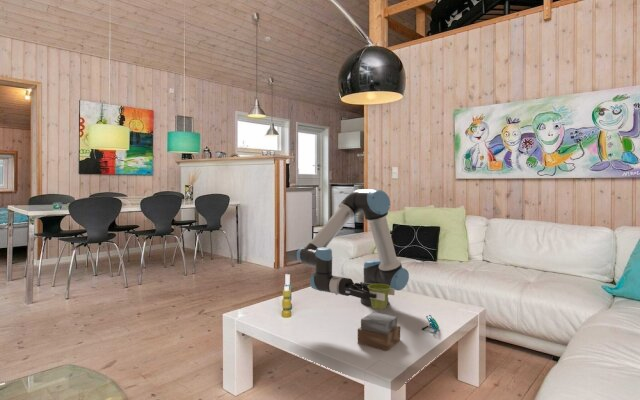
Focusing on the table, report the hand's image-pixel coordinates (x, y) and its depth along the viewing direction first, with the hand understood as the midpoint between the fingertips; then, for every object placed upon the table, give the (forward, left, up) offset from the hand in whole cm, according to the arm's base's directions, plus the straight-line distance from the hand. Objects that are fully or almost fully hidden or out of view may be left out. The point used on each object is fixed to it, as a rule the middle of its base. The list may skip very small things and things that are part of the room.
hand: (389, 294), depth 161 cm
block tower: (0, -5, -21) cm, 21 cm away
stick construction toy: (-26, +8, -21) cm, 34 cm away
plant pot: (0, -5, -6) cm, 8 cm away
